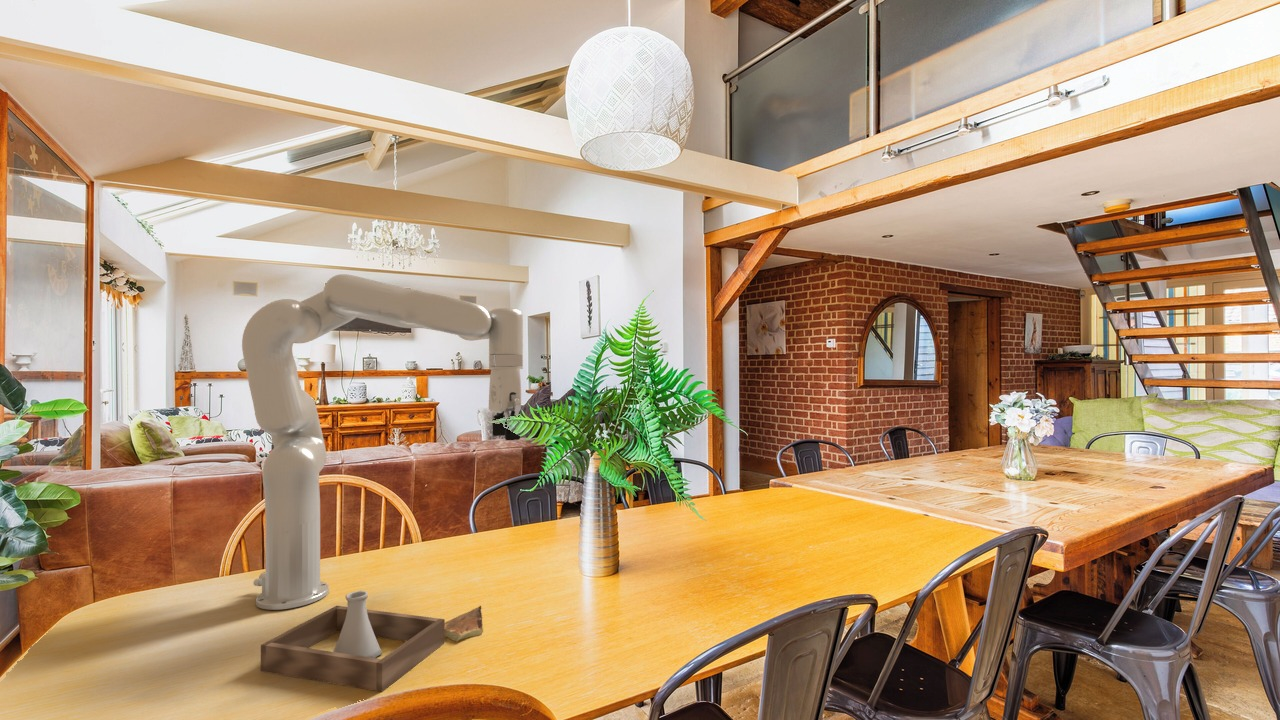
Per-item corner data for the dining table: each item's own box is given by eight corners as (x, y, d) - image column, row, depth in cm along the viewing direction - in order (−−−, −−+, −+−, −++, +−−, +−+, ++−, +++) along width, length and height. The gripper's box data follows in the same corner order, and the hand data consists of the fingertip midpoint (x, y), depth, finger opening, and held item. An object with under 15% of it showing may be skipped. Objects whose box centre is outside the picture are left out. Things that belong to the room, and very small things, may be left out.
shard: (480, 613, 110) (480, 603, 110) (510, 622, 106) (510, 612, 106) (433, 636, 101) (433, 625, 101) (463, 647, 97) (463, 636, 97)
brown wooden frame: (260, 671, 88) (260, 644, 88) (336, 628, 103) (336, 605, 103) (382, 691, 82) (382, 663, 83) (444, 643, 97) (444, 619, 97)
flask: (345, 673, 88) (344, 607, 88) (322, 659, 92) (322, 596, 92) (390, 654, 93) (390, 592, 93) (367, 641, 98) (367, 582, 98)
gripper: (479, 363, 138) (479, 434, 137) (501, 362, 123) (501, 443, 123) (510, 363, 142) (510, 433, 141) (534, 362, 127) (534, 440, 126)
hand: (505, 437), depth 132 cm, fingers open, 9 cm apart
